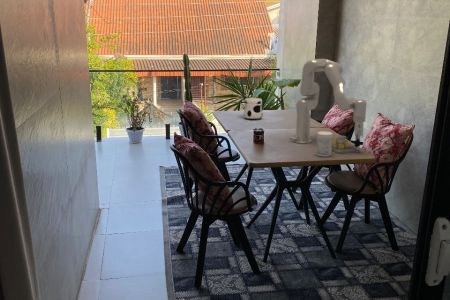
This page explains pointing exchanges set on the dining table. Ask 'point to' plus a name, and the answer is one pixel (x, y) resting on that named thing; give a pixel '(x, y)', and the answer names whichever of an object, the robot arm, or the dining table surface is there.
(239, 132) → the dining table surface
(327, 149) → the supplement tub
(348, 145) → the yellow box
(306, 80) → the robot arm
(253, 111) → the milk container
